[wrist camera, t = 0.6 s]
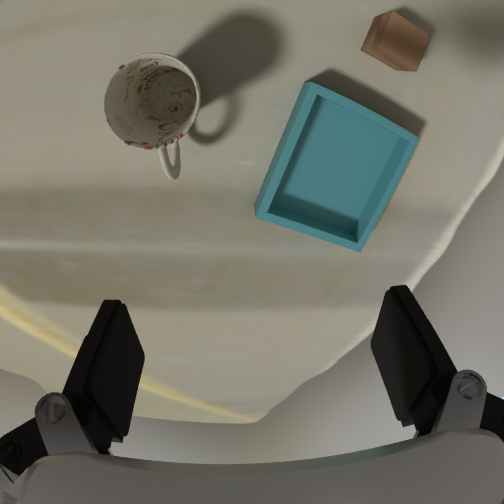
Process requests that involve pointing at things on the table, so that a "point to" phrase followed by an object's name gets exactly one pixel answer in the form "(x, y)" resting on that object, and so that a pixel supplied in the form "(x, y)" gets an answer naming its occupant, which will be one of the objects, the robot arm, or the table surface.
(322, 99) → the tray
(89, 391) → the robot arm
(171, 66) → the mug
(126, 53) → the table surface
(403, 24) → the block
